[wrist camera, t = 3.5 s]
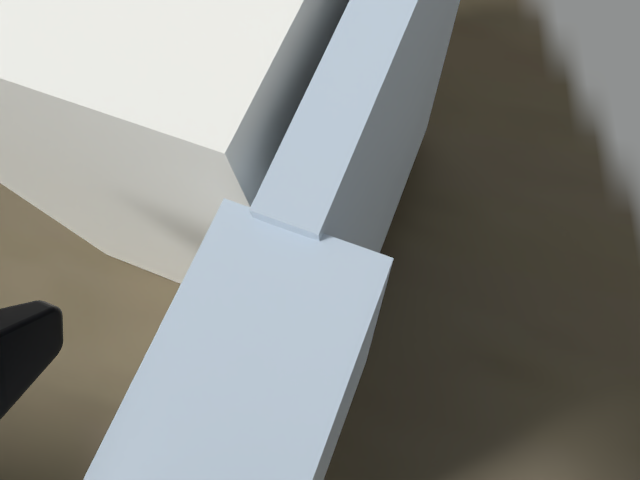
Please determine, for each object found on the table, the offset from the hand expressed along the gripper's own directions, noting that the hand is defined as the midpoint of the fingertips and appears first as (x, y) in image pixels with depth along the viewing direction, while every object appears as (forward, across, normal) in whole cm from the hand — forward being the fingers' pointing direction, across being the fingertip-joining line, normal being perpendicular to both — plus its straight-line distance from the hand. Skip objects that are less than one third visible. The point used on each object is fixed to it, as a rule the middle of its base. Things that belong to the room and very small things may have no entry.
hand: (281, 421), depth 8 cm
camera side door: (+7, 0, +2) cm, 8 cm away
